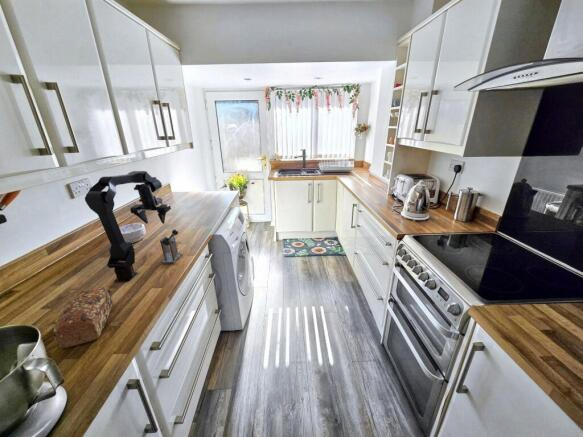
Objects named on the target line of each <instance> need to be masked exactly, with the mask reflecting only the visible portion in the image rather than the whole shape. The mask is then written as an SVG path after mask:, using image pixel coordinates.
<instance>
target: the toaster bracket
mask: <svg viewBox="0 0 583 437" xmlns="http://www.w3.org/2000/svg"><path fill="white" fill-rule="evenodd" d="M166 238H168V236H164V237H162V238H161V239H160V240H159V244H160V246H161V250H162V255H163V260H162V261H161V265H174V264H176V263H177V261H178V260H179V259H180V258H181V257H182V256H183V252H179V250H178V246H177V242H176V237H175V236H173V237H171V238H170V239H169V240H168V242H169V245H165V243H164V241H165V239H166Z"/></svg>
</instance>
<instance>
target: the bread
mask: <svg viewBox="0 0 583 437" xmlns="http://www.w3.org/2000/svg"><path fill="white" fill-rule="evenodd" d="M113 303H114V302H113V296H112V293H111V290H110V289H109V287H105V286H102V287H94V288H89V289H86V290H82V291H80V292H79V293H78V294H77V295H75V296H74V297H72V298H71V299H70V300H69V301H68V303H66V305H65V306H64V309H63V310H62V311H61V313H60V314H59V315H58V319H57V321H56V323H55V325H54V326H53V332H52V334H53V337H54V340H55V342H57V343H58V346H59V345H60V347H61V348H63V349H64V348H71V347H74V346H79V345H82V344H86V343H90V342H93V341H96V340H97V339H98V338H100V336H101V334H102V331H103V329H104V327H105V325H106V323H107V320H108V318H109V315H110V312H111V310H112V306H113Z"/></svg>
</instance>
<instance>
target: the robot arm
mask: <svg viewBox="0 0 583 437" xmlns="http://www.w3.org/2000/svg"><path fill="white" fill-rule="evenodd" d="M126 184H135V186H134V187H133V191H137V193H138V196H139V198H140V199H138V202H139V203H141V204H138V203H136V204H135V205H133V206H131V207H130V209H129V212H130V213H131V214H133V215H134V216H137V217H138V218H139V219H140V220H141V221H142V222H144V224H146V225H148V224H149V220H148V218H147V217H148V216H147V214H146V212H147V211H156V212H157V216H158V218H159V220H160V223H161V224H162V225H165V223H166V214H167V213H168V212H169V211H170V210H172V207H171V205H170V204H168V203H167V204H166V203H164V204H163V197H156V195H153V194H154V193H155V192H157V191H158V190H160V189H162V187H163V184H162V182H161V181H160V180H159V179H157V177H156V176H152V175H150V173H148V171H147V170H133V171H130V172H128V173H126V174H119V175H110V176H108V175H107V176H101V177H100V178H99V179H98V181H97V182H96V183H95V184H94V185H93V186H91V187H90V188H89V190H88V192H87V193H86V194H85V196H84V201H85V204H86V205H87V206H88V207H89V209H90V210H91V211H92V212H94V213H95V214H96V215H97V216H98V218H99V221H100V223H101V225H102V227H103V229H104V232H105V234H106V237H107V239H108V241H109V243H110V246H109V255H110V256H109V259H108V261H107V264H106V266H107V267H108V268H109V269H113V271H114V273H115V275H116V278H115V279H114V282H116V283H117V282H119V283H120V282H130V281H131V280H132V279H133V278H135V277H136V275H138V271H135V270H134V267H133V265H134V264H135V263H136V252H135V250H136V248H135V247H134V245H133V244H134V243H131V242H126V241H125V240H124V238H123V235H122V233H121V230H120V228H119V227H120V226H119V223H118V221H117V218H116V216H115V214H114V208H115V201H114V199H115V197H116V195H117V189H116V187H117V186H120V185H126ZM106 188H108V189H107V190H106Z"/></svg>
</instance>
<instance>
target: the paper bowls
mask: <svg viewBox="0 0 583 437" xmlns="http://www.w3.org/2000/svg"><path fill="white" fill-rule="evenodd" d="M119 228H120V230H121V233H122V235H123V238H124V240H125V241H126V242H131V243H132V244H134V243H137V242H139V241H141V240H142V239H143V237H144V236H145V235H146V234H147V230H146V227H145V224H143V223H140V222H139V223H138V222H137V223H130V224H125V225H122V226H119Z"/></svg>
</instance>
